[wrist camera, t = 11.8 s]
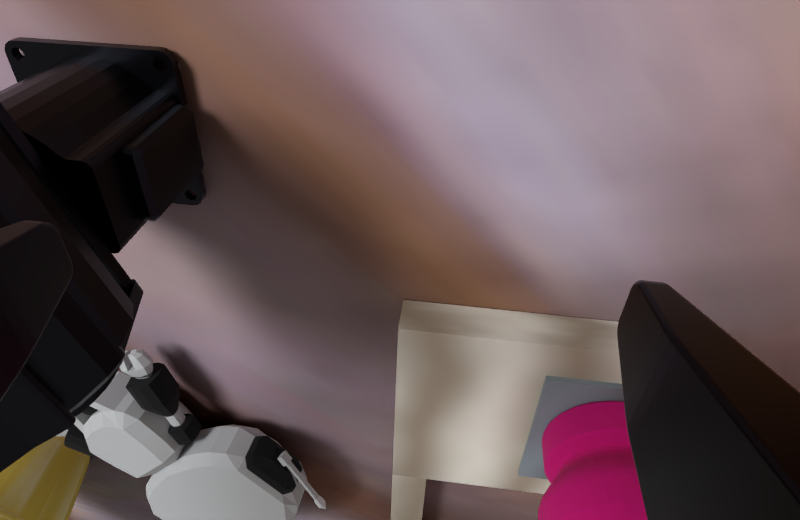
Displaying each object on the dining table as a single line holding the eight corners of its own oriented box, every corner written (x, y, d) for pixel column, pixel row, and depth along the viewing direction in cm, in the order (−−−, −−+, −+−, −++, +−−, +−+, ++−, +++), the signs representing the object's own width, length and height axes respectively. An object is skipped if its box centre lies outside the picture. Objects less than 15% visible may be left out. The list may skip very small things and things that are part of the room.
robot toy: (66, 388, 36) (238, 508, 40) (14, 445, 32) (210, 569, 37) (161, 305, 30) (349, 457, 35) (111, 363, 26) (330, 524, 31)
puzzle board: (393, 524, 39) (388, 557, 38) (403, 299, 26) (397, 333, 24) (602, 553, 38) (608, 588, 36) (726, 332, 25) (745, 370, 23)
